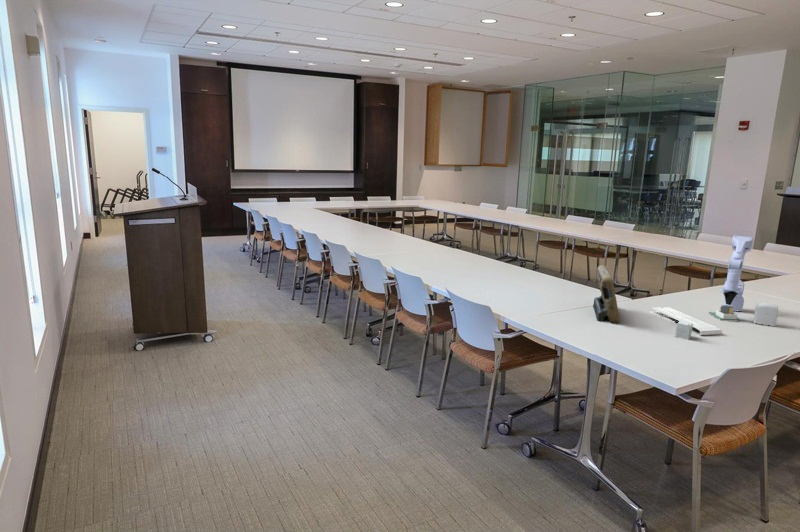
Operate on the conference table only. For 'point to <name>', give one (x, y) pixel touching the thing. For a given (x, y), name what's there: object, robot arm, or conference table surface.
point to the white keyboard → (688, 320)
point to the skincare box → (684, 329)
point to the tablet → (606, 297)
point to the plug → (726, 309)
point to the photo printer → (766, 313)
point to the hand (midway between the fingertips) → (728, 304)
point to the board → (724, 315)
